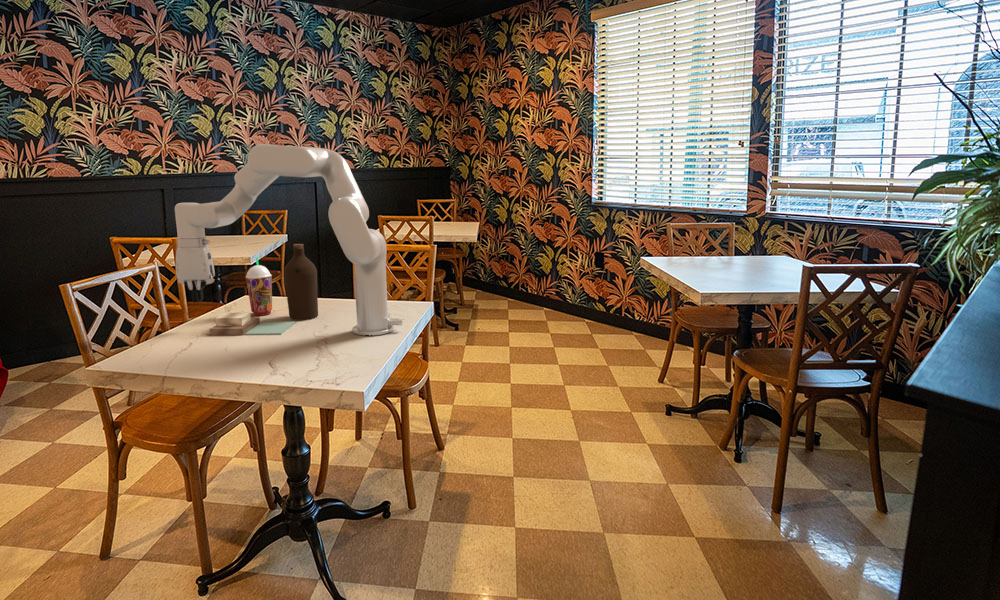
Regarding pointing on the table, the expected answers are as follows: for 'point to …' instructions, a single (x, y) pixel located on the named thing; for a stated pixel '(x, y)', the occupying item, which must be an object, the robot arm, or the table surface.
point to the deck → (235, 328)
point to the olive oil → (301, 286)
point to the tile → (233, 319)
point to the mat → (270, 328)
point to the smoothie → (259, 289)
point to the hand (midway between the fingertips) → (197, 301)
